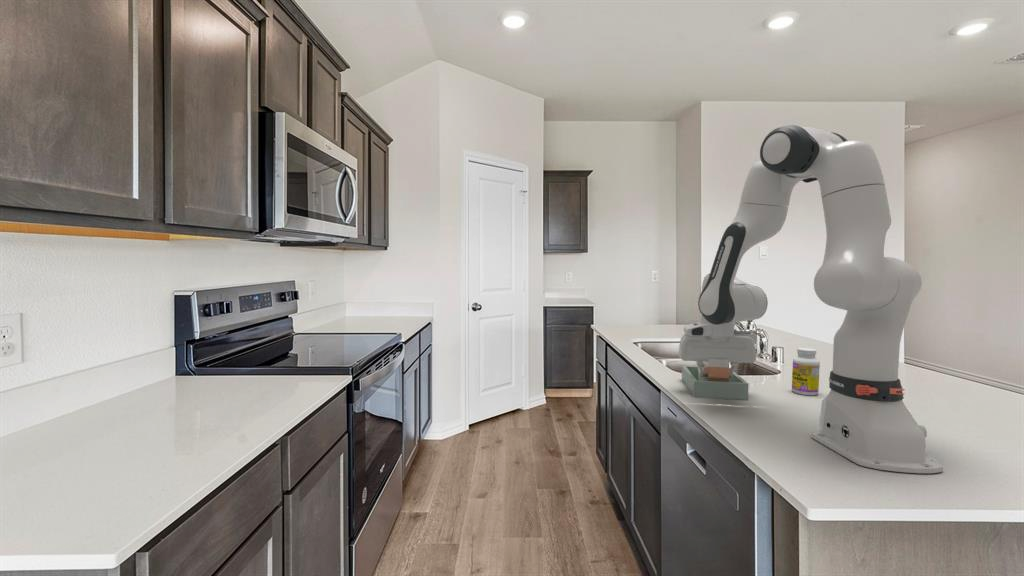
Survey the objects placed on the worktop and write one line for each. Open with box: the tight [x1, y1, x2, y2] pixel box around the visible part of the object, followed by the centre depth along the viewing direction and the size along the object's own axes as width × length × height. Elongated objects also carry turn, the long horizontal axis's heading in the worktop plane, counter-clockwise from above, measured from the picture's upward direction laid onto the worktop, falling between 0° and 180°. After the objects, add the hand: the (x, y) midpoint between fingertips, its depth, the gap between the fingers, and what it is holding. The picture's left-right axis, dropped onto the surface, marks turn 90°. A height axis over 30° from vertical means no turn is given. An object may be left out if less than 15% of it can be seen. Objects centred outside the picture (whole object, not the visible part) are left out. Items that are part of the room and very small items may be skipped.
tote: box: [681, 365, 749, 401], centre depth 139 cm, size 20×14×5 cm
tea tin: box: [704, 358, 731, 382], centre depth 135 cm, size 6×6×9 cm
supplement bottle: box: [791, 347, 821, 396], centre depth 137 cm, size 7×7×13 cm
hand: (716, 377), depth 135 cm, fingers closed on tea tin, 5 cm apart
